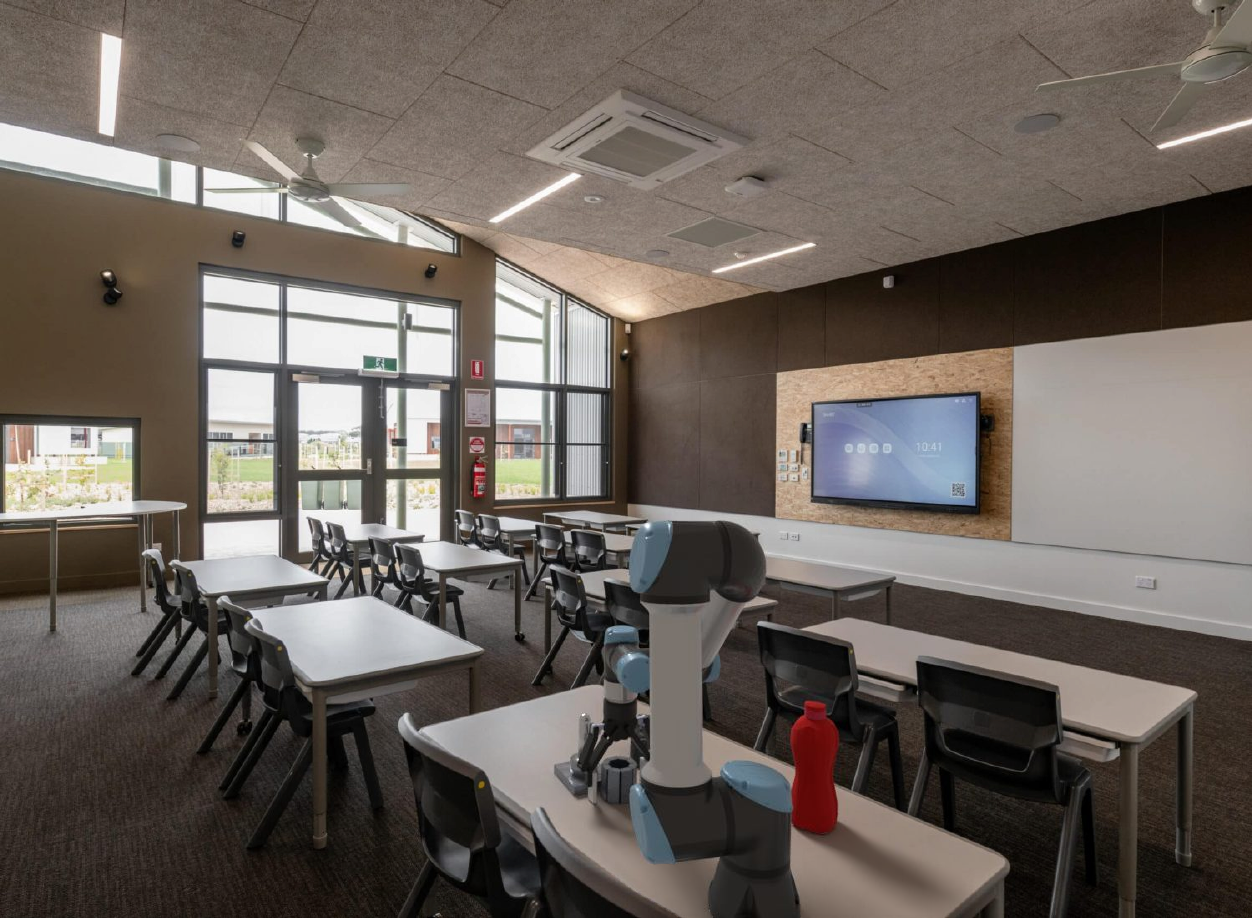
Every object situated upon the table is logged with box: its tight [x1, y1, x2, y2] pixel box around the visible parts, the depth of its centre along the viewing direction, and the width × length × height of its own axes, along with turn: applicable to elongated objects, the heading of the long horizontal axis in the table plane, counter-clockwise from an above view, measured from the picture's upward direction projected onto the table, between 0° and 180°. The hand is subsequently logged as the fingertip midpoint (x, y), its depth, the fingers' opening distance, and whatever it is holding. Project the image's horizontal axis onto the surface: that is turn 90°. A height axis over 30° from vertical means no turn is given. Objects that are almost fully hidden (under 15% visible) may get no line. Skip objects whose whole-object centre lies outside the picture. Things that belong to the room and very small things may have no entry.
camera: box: [629, 713, 650, 768], centre depth 172 cm, size 13×10×10 cm
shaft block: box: [553, 712, 601, 797], centre depth 159 cm, size 12×10×15 cm
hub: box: [600, 755, 638, 805], centre depth 152 cm, size 8×8×7 cm
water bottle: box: [789, 700, 840, 835], centre depth 143 cm, size 9×11×25 cm
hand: (618, 794), depth 152 cm, fingers open, 12 cm apart
